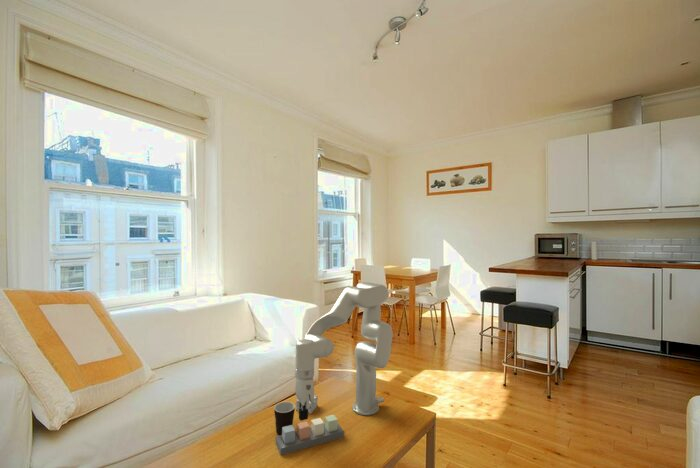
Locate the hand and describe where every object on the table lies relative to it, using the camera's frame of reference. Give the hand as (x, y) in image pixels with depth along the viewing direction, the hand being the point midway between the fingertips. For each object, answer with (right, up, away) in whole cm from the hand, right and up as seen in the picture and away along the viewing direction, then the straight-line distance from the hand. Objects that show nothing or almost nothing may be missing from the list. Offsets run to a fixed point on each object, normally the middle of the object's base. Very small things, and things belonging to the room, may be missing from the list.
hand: (303, 418), depth 127 cm
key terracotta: (0, -7, 0) cm, 7 cm away
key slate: (-5, -7, -3) cm, 9 cm away
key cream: (+5, -7, +3) cm, 9 cm away
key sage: (+11, -7, +5) cm, 14 cm away
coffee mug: (-9, -9, +8) cm, 15 cm away
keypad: (+3, -9, +1) cm, 10 cm away
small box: (-2, -10, +25) cm, 27 cm away
